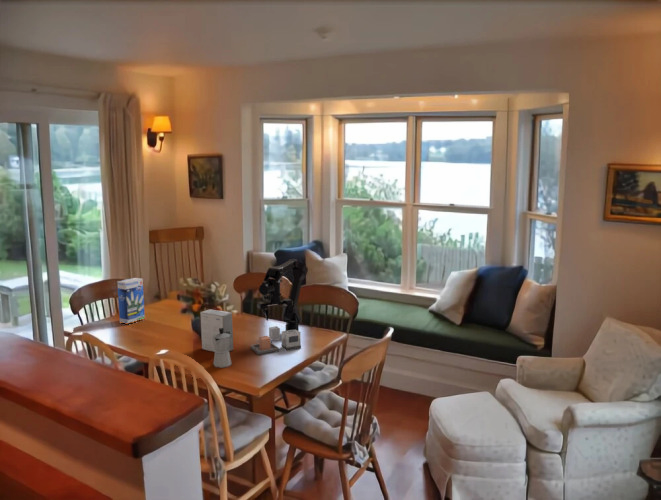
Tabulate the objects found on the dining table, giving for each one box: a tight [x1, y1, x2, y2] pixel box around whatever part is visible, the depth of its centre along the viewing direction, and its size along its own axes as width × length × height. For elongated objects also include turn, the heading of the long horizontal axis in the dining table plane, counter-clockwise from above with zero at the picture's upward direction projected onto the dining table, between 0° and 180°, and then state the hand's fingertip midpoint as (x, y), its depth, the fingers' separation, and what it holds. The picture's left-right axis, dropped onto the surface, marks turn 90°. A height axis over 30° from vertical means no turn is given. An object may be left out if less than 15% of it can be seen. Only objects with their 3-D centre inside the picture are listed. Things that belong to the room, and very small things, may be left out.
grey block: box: [268, 325, 281, 341], centre depth 309 cm, size 4×4×6 cm
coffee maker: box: [213, 328, 232, 369], centre depth 271 cm, size 15×9×18 cm, turn 164°
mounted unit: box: [281, 329, 302, 352], centre depth 294 cm, size 8×7×8 cm
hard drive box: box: [199, 308, 234, 353], centre depth 290 cm, size 16×8×20 cm, turn 59°
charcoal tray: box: [250, 341, 280, 356], centre depth 291 cm, size 11×11×2 cm
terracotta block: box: [258, 335, 272, 350], centre depth 291 cm, size 4×4×6 cm
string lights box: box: [116, 277, 146, 323], centre depth 338 cm, size 13×8×26 cm, turn 149°
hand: (275, 319), depth 304 cm, fingers open, 9 cm apart
